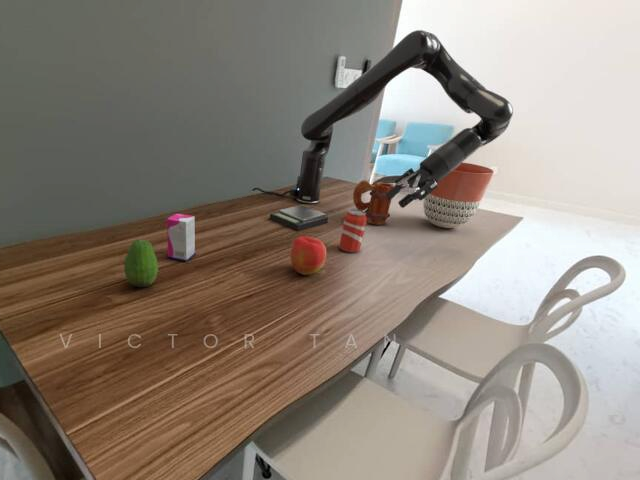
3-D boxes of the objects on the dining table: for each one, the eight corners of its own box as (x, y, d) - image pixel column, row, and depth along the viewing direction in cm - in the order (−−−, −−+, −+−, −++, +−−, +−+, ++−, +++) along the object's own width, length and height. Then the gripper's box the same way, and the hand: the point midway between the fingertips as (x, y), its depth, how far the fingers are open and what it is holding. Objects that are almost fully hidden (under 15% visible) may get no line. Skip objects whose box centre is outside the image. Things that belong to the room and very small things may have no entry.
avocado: (161, 291, 94) (158, 244, 88) (126, 294, 92) (121, 247, 85) (157, 276, 100) (154, 231, 94) (125, 278, 98) (120, 233, 92)
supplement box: (195, 254, 113) (195, 215, 107) (186, 262, 108) (185, 222, 102) (177, 250, 115) (176, 212, 109) (167, 258, 110) (165, 218, 104)
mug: (385, 220, 149) (395, 180, 142) (390, 227, 142) (401, 185, 135) (346, 216, 150) (354, 176, 142) (349, 224, 143) (358, 182, 135)
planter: (470, 223, 152) (491, 166, 141) (472, 239, 136) (496, 176, 125) (416, 213, 158) (433, 158, 147) (413, 228, 143) (431, 167, 132)
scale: (269, 218, 143) (269, 212, 142) (299, 211, 152) (299, 205, 151) (297, 230, 134) (298, 224, 133) (327, 222, 143) (328, 216, 142)
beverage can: (362, 249, 123) (371, 212, 117) (352, 255, 119) (361, 216, 113) (345, 243, 126) (353, 207, 120) (335, 249, 122) (342, 211, 116)
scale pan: (278, 212, 143) (278, 210, 143) (300, 207, 150) (301, 205, 150) (303, 221, 136) (303, 219, 135) (325, 216, 143) (325, 213, 142)
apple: (314, 284, 101) (320, 248, 96) (281, 273, 105) (285, 239, 100) (327, 271, 108) (334, 237, 103) (296, 261, 112) (300, 228, 107)
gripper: (423, 147, 116) (377, 185, 120) (450, 157, 104) (398, 199, 108) (434, 166, 119) (389, 202, 123) (462, 178, 107) (411, 218, 111)
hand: (393, 201), depth 116 cm, fingers open, 8 cm apart
